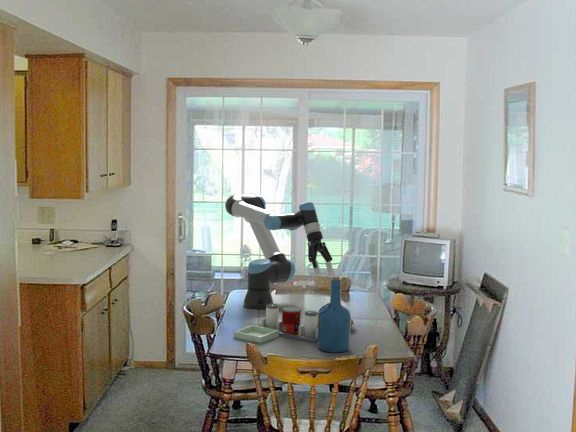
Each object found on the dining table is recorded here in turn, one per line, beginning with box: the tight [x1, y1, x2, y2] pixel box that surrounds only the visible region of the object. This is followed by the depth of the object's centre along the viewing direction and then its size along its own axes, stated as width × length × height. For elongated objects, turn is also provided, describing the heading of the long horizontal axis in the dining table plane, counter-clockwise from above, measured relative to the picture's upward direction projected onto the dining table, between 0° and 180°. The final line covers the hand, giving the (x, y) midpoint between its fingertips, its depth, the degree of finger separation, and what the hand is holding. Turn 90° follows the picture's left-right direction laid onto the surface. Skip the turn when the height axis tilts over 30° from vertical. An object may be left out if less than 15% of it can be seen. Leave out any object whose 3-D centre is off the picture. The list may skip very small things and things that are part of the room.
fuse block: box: [258, 316, 318, 343], centre depth 303 cm, size 31×13×4 cm, turn 58°
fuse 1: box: [265, 303, 280, 330], centre depth 308 cm, size 6×6×11 cm
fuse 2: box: [303, 310, 318, 339], centre depth 297 cm, size 6×6×11 cm
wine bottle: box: [317, 275, 352, 354], centre depth 280 cm, size 14×13×30 cm
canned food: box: [281, 306, 301, 335], centre depth 302 cm, size 8×8×11 cm
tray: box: [232, 324, 280, 345], centre depth 294 cm, size 14×14×3 cm
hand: (324, 274), depth 333 cm, fingers open, 13 cm apart
